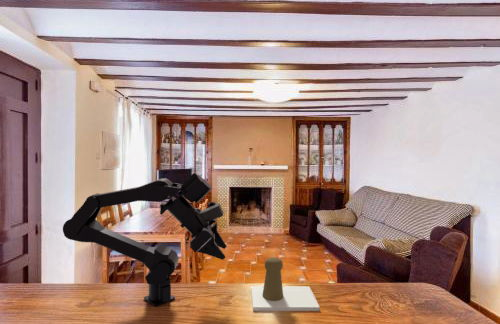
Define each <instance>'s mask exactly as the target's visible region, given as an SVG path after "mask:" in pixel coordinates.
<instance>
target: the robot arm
mask: <svg viewBox="0 0 500 324" xmlns="http://www.w3.org/2000/svg"><path fill="white" fill-rule="evenodd" d="M212 189H213V188H212V186H211V185H210V183H209V182H208V180H206V179H205V178H203V177H202V176H200V175H199V174H198V173H197V172H193V173H192V174H191V175H190V176H189V178H188V179H187V180H186V181H184V183H182V184H181V183H176V182H172V181H171V180H170V179H168V178H166V177H164V178H162V177H161V178H159V179H156V180H154V181H151V182H149V183H145V184H143V185H141V186H136V187H135V186H134V187H130V188H125V189H120V190H119V189H118V190H114V191H109V192H104V193H95V194H92V195H89V196H88V197H86V200H85V201H84V202H83V204H82V205H81V206H80V207H79V209H77V211H75V213H74V214H72V217H71V218H70V219H68V220H66V221H65V222H64V223H63V224H62V232H63V235H64V237H65V238H66V239H67V240H71V241H75V242H79V243H91V244H97V245H99V246H102V247H104V248H107V249H109V250H112V251H114V252H116V253H118V254H120V255H123V256H126V257H128V258H131V259H133V260H135V261H138V262H140V263H143V265H144V266H145V267H146V268H147V269H148V270H149V271H148V272H147V274H146V275H145V277H144V279H145V281H146V284H147V285H148V295H146V296H143V300H144V301H146V302H147V303H150V304H151V305H152V306H154V307H158V306H161V305H164V304H165V303H168V302H171V301H173V300H175V299H176V296H174V295H172V286H171V275H172V274H173V273H174V271H175V270H176V268H177V266H178V264H179V255H178V253H177V252H176V250H173V248H174V247H172V246H166V245H165V244H164V243H160V242H159V243H158V245H157V246H155V247H154V246H149V245H146V244H144V243H142V242H139V241H137V240H135V239H132V238H130V237H127V236H124V235H122V234H120V233H118V232H115V231H113V230H110V229H109V228H106V227H105V226H104V225H102V224H101V223H100V221H99V220H98V219H97V218H98V216H99V213H100V212H101V209H102V208H107V207H113V206H117V205H123V204H129V203H133V202H149V203H150V202H151V203H152V202H154V203H155V202H161V203H160V204H159V208H160V209H159V211H160V212H159V214H160V215H163V214H165V212H167V211H168V212H169V214H171V215H172V216H173V217H174V218H175V219H176V220H177V222H179V223H180V225H179V226H180V227H181V229H183V228H184V229H186V230H187V231H188V233H190V237H191V240H190V242H189V245H190V246H189V248H190V249H191V250H192V251H193V252H194V253H201V254H205V255H207V256H211V257H213V258H217V259H219V260H222V261H223V260H225V258H226V255H225V254H224V252H223V251H222V249H224V250H225V249H226V248H227V247H228V246H227V244H226V243H225V241H224V239H223V238H222V236H221V234H220V232H219V231H218V222H217V219H220V218H222V217H223V216H224V210H223V208H222V205H221V204H220V203H219V202H217V203H216V202H215V201H214V200H212V201H210V202H208V203H207V208H206V207H205V208H204V209H203V210H201V208H200V207H199V208H198V207H196V208H195V206H194V205H192V203H199V202H200V201H201V200H202V199H203V198H204V197H205V196H206V195H207V194H208V193H210V191H212ZM180 192H181V193H180ZM179 193H180V194H179ZM177 194H179V195H178V196H177V197H174V196H176V195H177ZM169 197H170V198H169ZM167 199H168V200H167ZM165 200H167V201H166V202H165V203H162V202H164V201H165Z"/></svg>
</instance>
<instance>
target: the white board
mask: <svg viewBox="0 0 500 324" xmlns="http://www.w3.org/2000/svg"><path fill="white" fill-rule="evenodd" d="M263 289H264V285H261V286H260V285H259V286H258V285H251V286H250V292H251V303H252V311H253V312H258V311H259V312H267V311H269V312H280V311H281V312H293V311H294V312H301V311H302V312H305V311H306V312H311V311H312V312H320V310H321V309H320V308H321V307H320V305H319V303H318V301H317V298H316V296H315V294H314V293H313V291H312V289H311V287H310V286H304V285H302V286H297V285H293V286H292V285H288V286H287V285H286V286H285V285H282V289H283V299H281V300H279V301H269V300H266V299H264V298H263Z"/></svg>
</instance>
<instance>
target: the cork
mask: <svg viewBox="0 0 500 324" xmlns="http://www.w3.org/2000/svg"><path fill="white" fill-rule="evenodd" d="M283 265H284V263H283V260H282V259H281V258H279V257H275V256H274V257H273V256H272V257H267V258H266V259H265V261H264V268H265V275H264V276H265V277H264V282H263V283H264V284H263V286H264V289H263V298H264V299H266V300H269V301H279V300H281V299H283V289H282V286H283V279H282V269H283V267H284V266H283Z"/></svg>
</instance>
